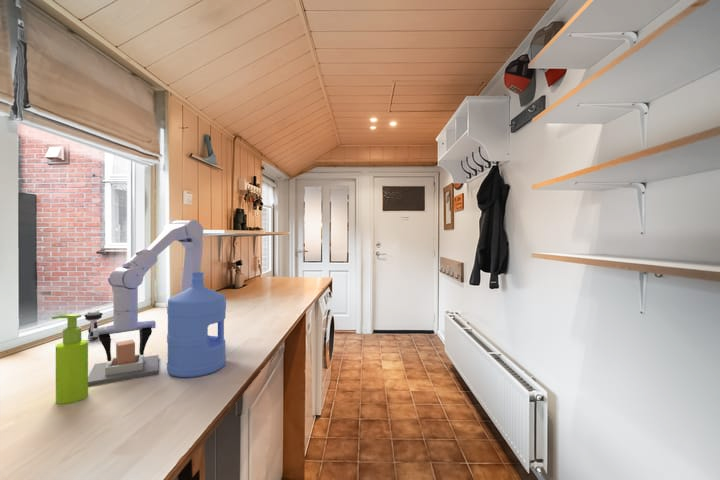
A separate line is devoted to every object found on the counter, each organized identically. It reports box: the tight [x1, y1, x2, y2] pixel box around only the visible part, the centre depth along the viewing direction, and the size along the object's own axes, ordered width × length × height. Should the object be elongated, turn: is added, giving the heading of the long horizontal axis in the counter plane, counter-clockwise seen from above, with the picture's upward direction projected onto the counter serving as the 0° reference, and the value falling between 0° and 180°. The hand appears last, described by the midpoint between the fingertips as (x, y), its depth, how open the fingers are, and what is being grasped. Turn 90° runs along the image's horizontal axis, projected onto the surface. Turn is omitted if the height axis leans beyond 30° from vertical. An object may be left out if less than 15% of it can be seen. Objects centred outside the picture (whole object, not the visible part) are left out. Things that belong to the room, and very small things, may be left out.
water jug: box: [166, 271, 227, 378], centre depth 100 cm, size 16×16×28 cm
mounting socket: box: [88, 353, 159, 387], centre depth 97 cm, size 16×14×3 cm
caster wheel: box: [83, 310, 103, 341], centre depth 125 cm, size 7×5×10 cm
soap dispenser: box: [51, 313, 89, 405], centre depth 81 cm, size 6×7×20 cm
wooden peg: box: [115, 339, 136, 365], centre depth 98 cm, size 4×4×7 cm
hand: (125, 357), depth 97 cm, fingers open, 7 cm apart
